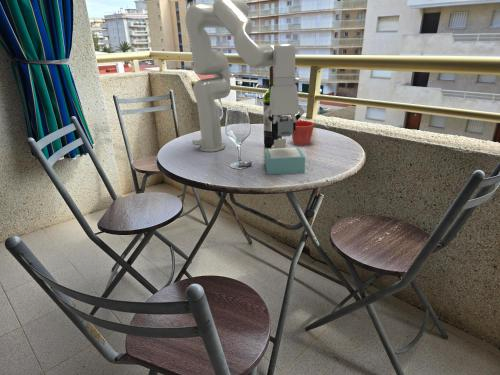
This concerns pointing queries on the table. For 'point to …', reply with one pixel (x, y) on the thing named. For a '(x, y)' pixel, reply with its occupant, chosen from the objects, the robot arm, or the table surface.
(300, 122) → the flower pot
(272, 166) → the stand
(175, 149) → the table surface
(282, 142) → the architectural model
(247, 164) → the bolt
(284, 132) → the block
